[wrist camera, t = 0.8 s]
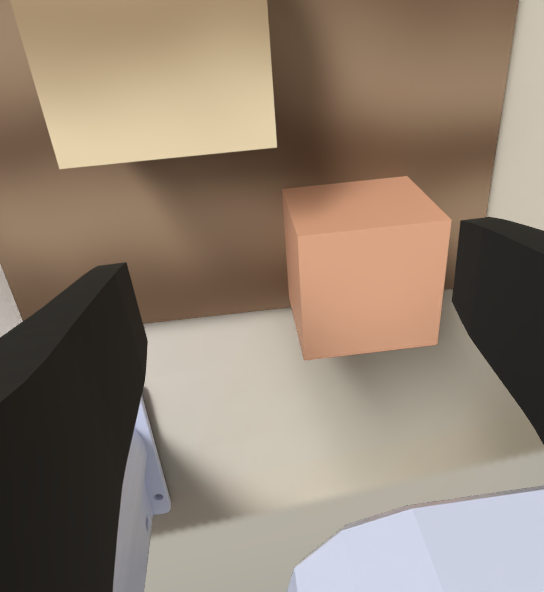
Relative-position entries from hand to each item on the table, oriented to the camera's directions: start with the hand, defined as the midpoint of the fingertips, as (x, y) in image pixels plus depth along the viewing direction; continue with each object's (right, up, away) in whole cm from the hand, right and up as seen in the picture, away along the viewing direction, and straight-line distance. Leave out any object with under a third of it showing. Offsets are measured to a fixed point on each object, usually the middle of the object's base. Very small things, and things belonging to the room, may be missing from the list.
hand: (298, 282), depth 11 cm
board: (-2, +6, +8) cm, 10 cm away
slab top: (-4, +7, +4) cm, 9 cm away
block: (+2, +2, +10) cm, 11 cm away
